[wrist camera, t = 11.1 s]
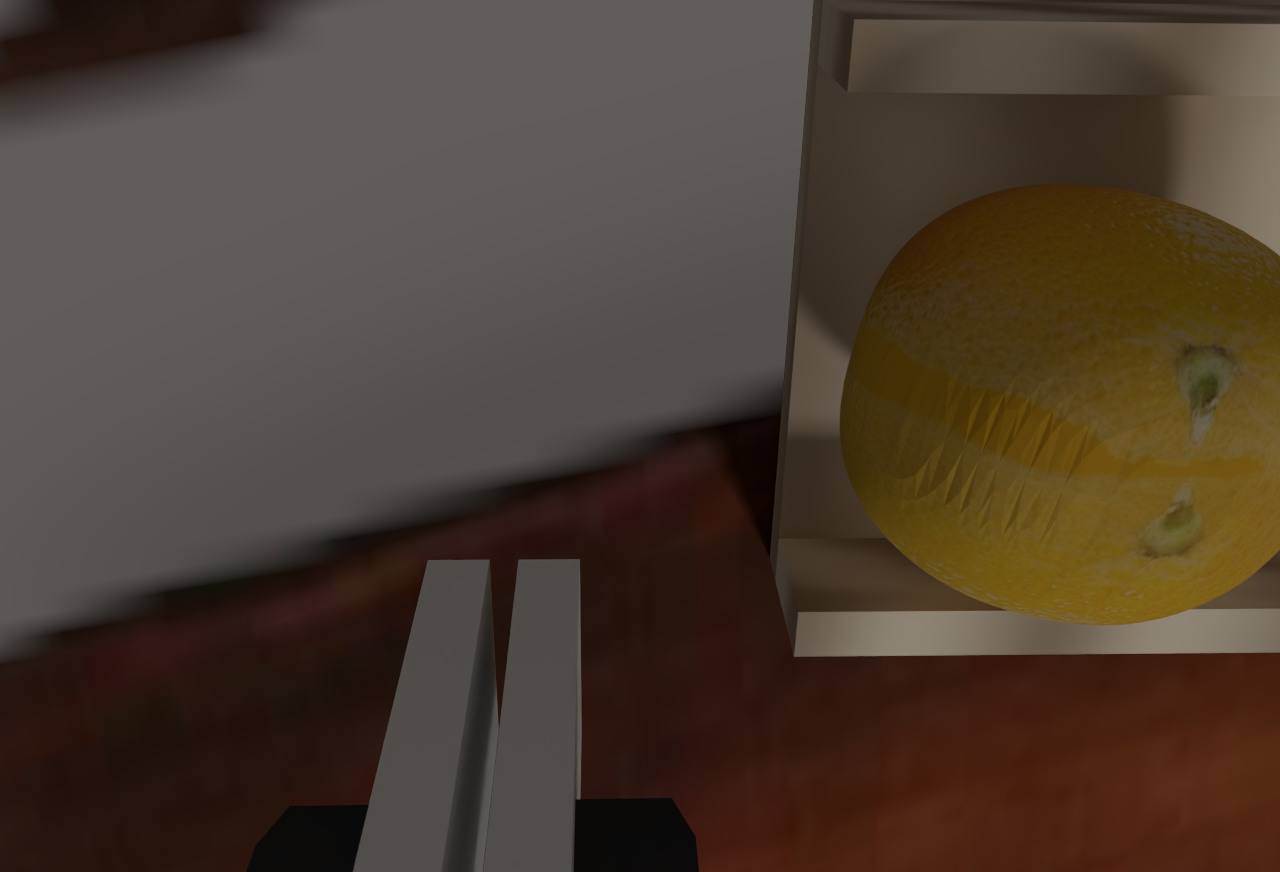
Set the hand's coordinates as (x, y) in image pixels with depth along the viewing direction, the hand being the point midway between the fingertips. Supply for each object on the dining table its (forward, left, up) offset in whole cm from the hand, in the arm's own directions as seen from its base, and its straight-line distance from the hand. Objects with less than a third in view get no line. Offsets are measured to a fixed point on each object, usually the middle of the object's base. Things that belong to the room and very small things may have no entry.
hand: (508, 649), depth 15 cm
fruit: (+10, 0, -12) cm, 15 cm away
